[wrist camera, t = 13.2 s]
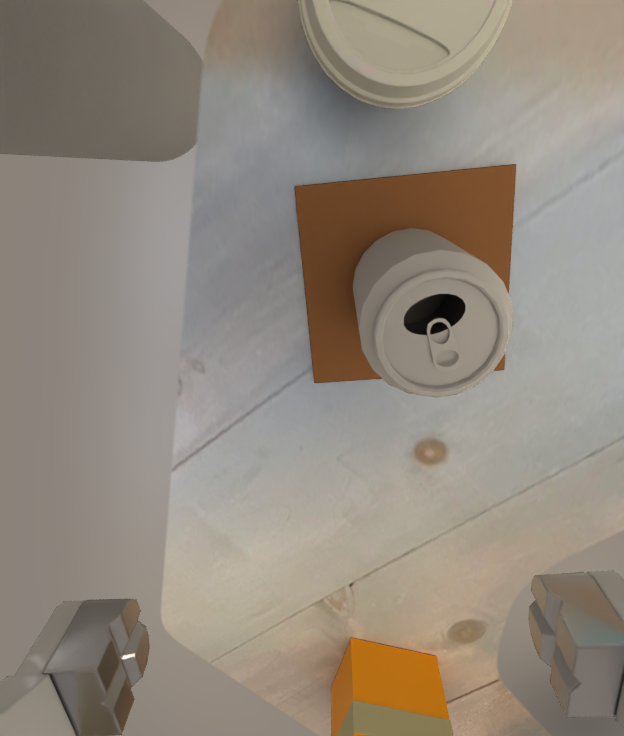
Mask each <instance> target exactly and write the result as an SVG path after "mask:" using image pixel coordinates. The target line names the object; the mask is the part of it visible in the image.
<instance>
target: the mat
mask: <svg viewBox="0 0 624 736" xmlns="http://www.w3.org/2000/svg"><path fill="white" fill-rule="evenodd" d="M515 176H516V164H512V165H502V166H493V167H483V168H473V169H463V170H453V171H443V172H433V173H423V174H413V175H403V176H393V177H383V178H373V179H363V180H353V181H343V182H333V183H323V184H313V185H303V186H295V195H296V205H297V215H298V225H299V235H300V245H301V255H302V265H303V274H304V284H305V294H306V304H307V314H308V324H309V334H310V344H311V353H312V363H313V373H314V383H325V382H339V381H354V380H368V379H382V378H381V377H380V376H379V375H378V374H377V373H376V372H375V371H374V370H373V369H372V367H371V366H370V364H369V362H368V360H367V358H366V356H365V354H364V353H363V351H362V345H361V339H360V333H359V326H358V320H357V313H356V306H355V300H354V293H353V281H354V275H355V269H356V267H357V265H358V263H359V261H360V259H361V257H362V255H363V253H364V252H365V251H366V250H367V249H368V248H369V247H370V246H371V245H372V244H373V243H374V242H375V241H376V240H378V239H380V238H382V237H383V236H385V235H387V234H389V233H391V232H393V231H398V230H403V229H409V228H415V229H422V230H429V231H431V232H433V233H435V234H437V235H439V236H441V237H443V238H445V239H446V240H448V241H450V242H451V243H453V244H455V245H456V246H458V247H460V248H461V249H463V250H464V251H466V252H468V253H469V254H471V255H473V256H474V257H476V258H478V259H479V260H481V261H483V262H484V263H486V264H487V265H488V266H489V267H490V268H491V269H492V270H493V271H494V272H495V273H496V274H497V275H498V276H499V278H500V279H501V280H502V281H503V282H504V285H505V287H506V289H507V292H508V294H509V279H510V262H511V245H512V228H513V211H514V194H515ZM504 364H505V353H504V356H503V357H502V359H501V360H500V362H499V363H498V365H497V366H496V368H495V369H494V371H499V370H504Z"/></svg>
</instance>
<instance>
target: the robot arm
mask: <svg viewBox="0 0 624 736" xmlns="http://www.w3.org/2000/svg"><path fill="white" fill-rule="evenodd" d="M531 591H532V593H533V595H534V597H535V599H536V600H535V601H534V602H533V603H532V604H531V605H530V606H529V625H530V631H531V636H532V639H533V642H534V646H535V648H536V650H537V653H538V655H539V657H540V659H541V660H543V661H544V662H545V663H546V664H547V665H549V666H550V667H551V677H550V683H551V685H552V687H553V689H554V691H555V694H556V696H557V698H558V700H559V703H560V705H561V707H562V709H563V711H564V713H565V716H566V717H567V718H568V717H569V718H571V717H616V718H615V720H616V721H617V722H618V723H619V724H620V725H621V726H622V727H623V728H624V580H623V579H622V577H621V576H620V575H619V574H618V573H617V572H615V571H614V570H611V571H595V572H587V573H584V572H577V573H562V574H547V575H535V576H534V577H533V579H532V585H531ZM140 612H141V610H140V607H139V605H138V602H137V600H136V599H108V600H107V599H106V600H83V601H64V602H62V603H61V604H60V605H59V606H57V607H56V609H55V610H54V612H53V614H52V615H51V617H50V618H49V620H48V622H47V623H46V625H45V627H44V628H43V630H42V632H41V633H40V635H39V636H38V638H37V640H36V641H35V643H34V644H33V646H32V648H31V649H30V651H29V653H28V654H27V656H26V658H25V659H24V661H23V662H22V664H21V666H20V667H19V669H18V671H17V672H16V674H15V675H14V676H7V677H6V678H4V679H3V680H2V681H0V736H114V735H122V732H123V730H124V727H125V724H126V721H127V719H128V715H129V713H130V710H131V707H132V705H133V702H134V696H133V693H132V691H131V687H133V686H134V685H135V684H136V683H137V682H138V681H139V680H140V679H141V678H142V677H143V674H144V671H145V668H146V665H147V661H148V654H149V635H148V632H147V629H146V626H144V625H143V624H142V623H141V622H139V621H138V617H139V615H140Z"/></svg>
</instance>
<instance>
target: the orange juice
mask: <svg viewBox="0 0 624 736" xmlns="http://www.w3.org/2000/svg"><path fill="white" fill-rule="evenodd" d="M331 736H453V731H452V726H451V721H450V720H449V715H448V710H447V705H446V700H445V696H444V691H443V686H442V681H441V677H440V672H439V667H438V662H437V657H436V656H433V655H428V654H424V653H419V652H415V651H410V650H405V649H401V648H396V647H391V646H387V645H382V644H378V643H373V642H368V641H364V640H359V639H354V638H351V639H350V642H349V644H348V647H347V649H346V652H345V654H344V657H343V659H342V662H341V664H340V667H339V670H338V672H337V675H336V677H335V680H334V682H333V685H332V689H331Z"/></svg>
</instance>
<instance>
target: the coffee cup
mask: <svg viewBox="0 0 624 736" xmlns="http://www.w3.org/2000/svg"><path fill="white" fill-rule="evenodd" d="M512 1H513V0H298V5H299V12H300V18H301V22H302V26H303V30H304V33H305V36H306V39H307V42H308V44H309V46H310V49H311V51H312V53H313V55H314V56H315V58H316V60H317V62H318V63H319V65H320V66H321V68H322V69H323V70H324V72H325V73H326V74H327V75H328V76H329V78H330V79H331V80H332V81H333V82H334V83H335V84H336V85H338V86H339V87H340V88H341V89H342V90H344V91H345V92H346V93H348V94H349V95H351V96H353V97H354V98H356V99H358V100H360V101H363V102H365V103H368V104H371V105H374V106H378V107H383V108H393V109H401V108H411V107H416V106H421V105H424V104H427V103H430V102H433V101H435V100H437V99H439V98H441V97H443V96H445V95H447V94H448V93H450V92H452V91H453V90H455V89H456V88H457V87H459V86H460V85H461V84H462V83H464V82H465V81H466V80H467V79H468V78H469V77H470V76H471V75H472V74H473V73H474V72H475V71H476V70H477V69H478V68H479V66H480V65H481V64H482V63H483V61H484V60H485V59H486V57H487V56H488V54H489V53H490V51H491V50H492V48H493V46H494V45H495V43H496V41H497V39H498V37H499V35H500V33H501V31H502V29H503V26H504V24H505V22H506V19H507V17H508V14H509V11H510V8H511V5H512Z"/></svg>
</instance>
